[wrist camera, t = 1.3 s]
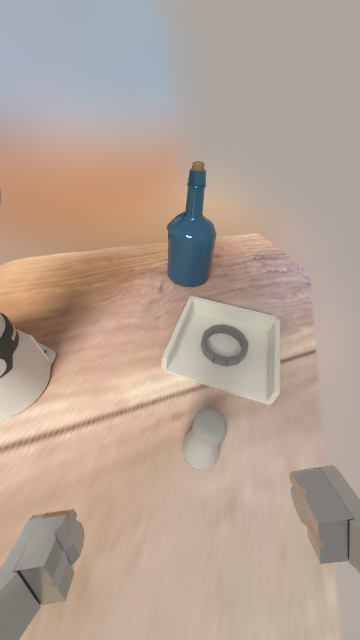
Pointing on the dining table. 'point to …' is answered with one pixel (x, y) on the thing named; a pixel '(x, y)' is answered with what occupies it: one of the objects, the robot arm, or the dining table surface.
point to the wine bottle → (191, 235)
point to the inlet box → (226, 349)
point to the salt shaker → (204, 439)
